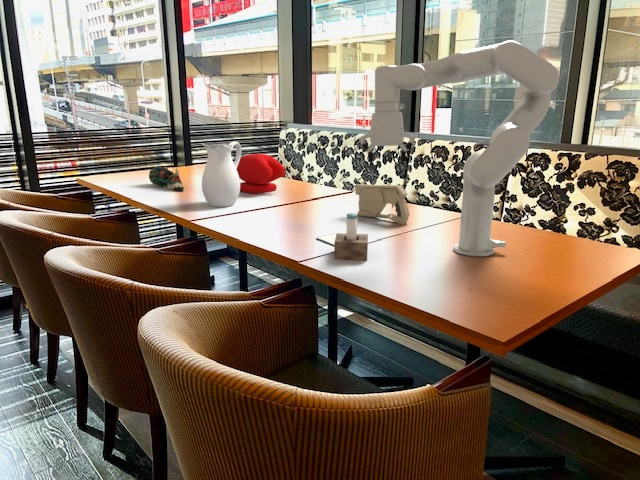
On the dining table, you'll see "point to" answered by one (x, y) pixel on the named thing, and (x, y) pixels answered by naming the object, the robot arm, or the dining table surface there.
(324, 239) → the smartphone
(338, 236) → the socket block
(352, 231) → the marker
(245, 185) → the toy
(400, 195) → the gun
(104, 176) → the dining table surface
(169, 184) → the sculpture
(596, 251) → the dining table surface
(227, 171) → the pitcher
